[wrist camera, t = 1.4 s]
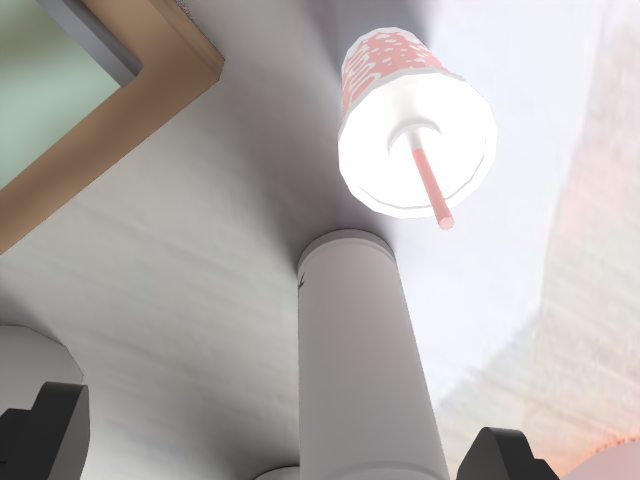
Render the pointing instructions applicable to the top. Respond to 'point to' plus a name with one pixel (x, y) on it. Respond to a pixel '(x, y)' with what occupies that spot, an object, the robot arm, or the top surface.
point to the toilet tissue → (31, 366)
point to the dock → (86, 93)
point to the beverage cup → (410, 129)
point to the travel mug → (360, 367)
